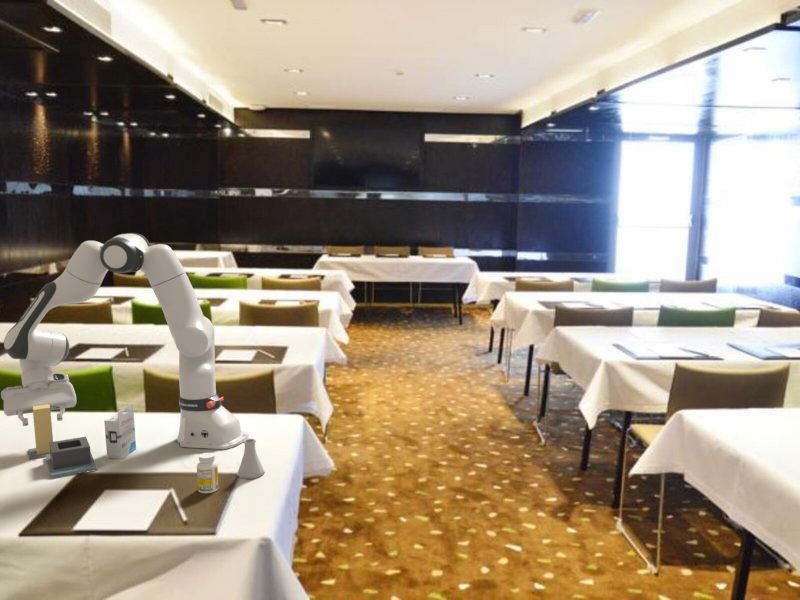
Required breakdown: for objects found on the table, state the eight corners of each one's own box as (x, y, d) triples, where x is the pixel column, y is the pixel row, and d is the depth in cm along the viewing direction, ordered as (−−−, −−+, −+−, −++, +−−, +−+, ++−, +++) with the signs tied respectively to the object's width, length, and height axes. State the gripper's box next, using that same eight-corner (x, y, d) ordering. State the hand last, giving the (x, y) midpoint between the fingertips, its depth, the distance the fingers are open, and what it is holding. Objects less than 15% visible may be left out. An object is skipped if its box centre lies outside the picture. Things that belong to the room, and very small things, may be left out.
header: (50, 458, 221) (49, 442, 221) (87, 452, 226) (85, 436, 225) (53, 469, 213) (52, 452, 212) (91, 463, 217) (90, 446, 217)
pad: (28, 450, 231) (28, 449, 231) (60, 445, 236) (60, 444, 236) (29, 459, 224) (29, 458, 223) (62, 454, 228) (62, 452, 228)
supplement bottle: (205, 495, 196) (204, 460, 195) (193, 490, 200) (191, 455, 198) (222, 489, 201) (221, 454, 199) (210, 484, 204) (208, 450, 202)
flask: (251, 481, 206) (250, 446, 204) (232, 476, 209) (230, 442, 208) (269, 473, 212) (268, 438, 210) (250, 468, 215) (249, 434, 214)
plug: (36, 450, 230) (32, 406, 228) (52, 447, 233) (49, 403, 230) (37, 454, 226) (33, 409, 224) (53, 452, 229) (50, 407, 226)
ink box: (122, 448, 232) (119, 402, 230) (136, 449, 231) (133, 402, 229) (106, 458, 224) (102, 410, 222) (121, 459, 223) (117, 411, 221)
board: (46, 458, 225) (45, 455, 224) (89, 451, 230) (88, 447, 230) (51, 478, 209) (50, 475, 209) (97, 470, 215) (96, 466, 214)
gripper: (-1, 382, 227) (3, 422, 220) (73, 373, 237) (79, 411, 230) (0, 393, 232) (4, 433, 225) (72, 384, 242) (78, 422, 235)
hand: (43, 422), depth 228 cm, fingers open, 8 cm apart
